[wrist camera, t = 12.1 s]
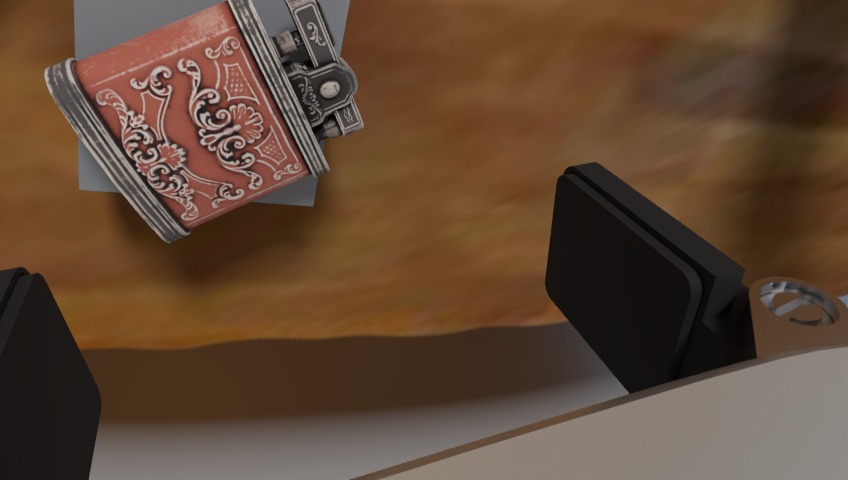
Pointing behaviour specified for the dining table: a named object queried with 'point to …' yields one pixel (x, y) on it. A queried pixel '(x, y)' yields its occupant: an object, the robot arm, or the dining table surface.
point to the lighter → (209, 110)
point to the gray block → (161, 5)
